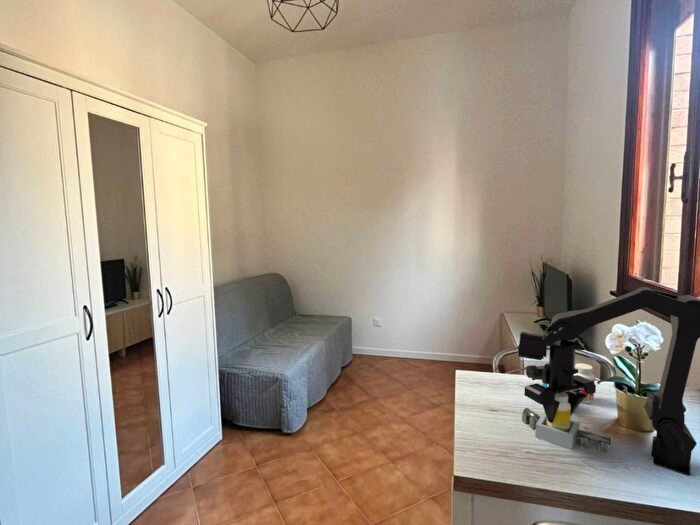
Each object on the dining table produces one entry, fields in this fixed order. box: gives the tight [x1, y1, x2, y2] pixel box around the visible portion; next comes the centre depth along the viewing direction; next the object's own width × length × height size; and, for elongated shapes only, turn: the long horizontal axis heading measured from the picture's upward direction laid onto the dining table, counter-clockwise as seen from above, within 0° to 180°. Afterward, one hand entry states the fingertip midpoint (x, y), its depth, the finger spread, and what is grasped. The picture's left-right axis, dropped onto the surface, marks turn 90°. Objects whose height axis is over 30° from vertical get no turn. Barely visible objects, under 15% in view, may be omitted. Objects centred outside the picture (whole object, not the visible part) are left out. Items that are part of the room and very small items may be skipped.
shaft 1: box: [521, 407, 541, 430], centre depth 105 cm, size 6×3×4 cm, turn 14°
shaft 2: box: [577, 428, 612, 454], centre depth 95 cm, size 7×3×4 cm, turn 59°
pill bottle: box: [574, 363, 596, 404], centre depth 119 cm, size 6×6×11 cm
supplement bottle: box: [547, 392, 571, 433], centre depth 99 cm, size 5×5×10 cm
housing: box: [534, 411, 581, 450], centre depth 99 cm, size 8×8×4 cm
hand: (558, 419), depth 99 cm, fingers closed on supplement bottle, 5 cm apart
